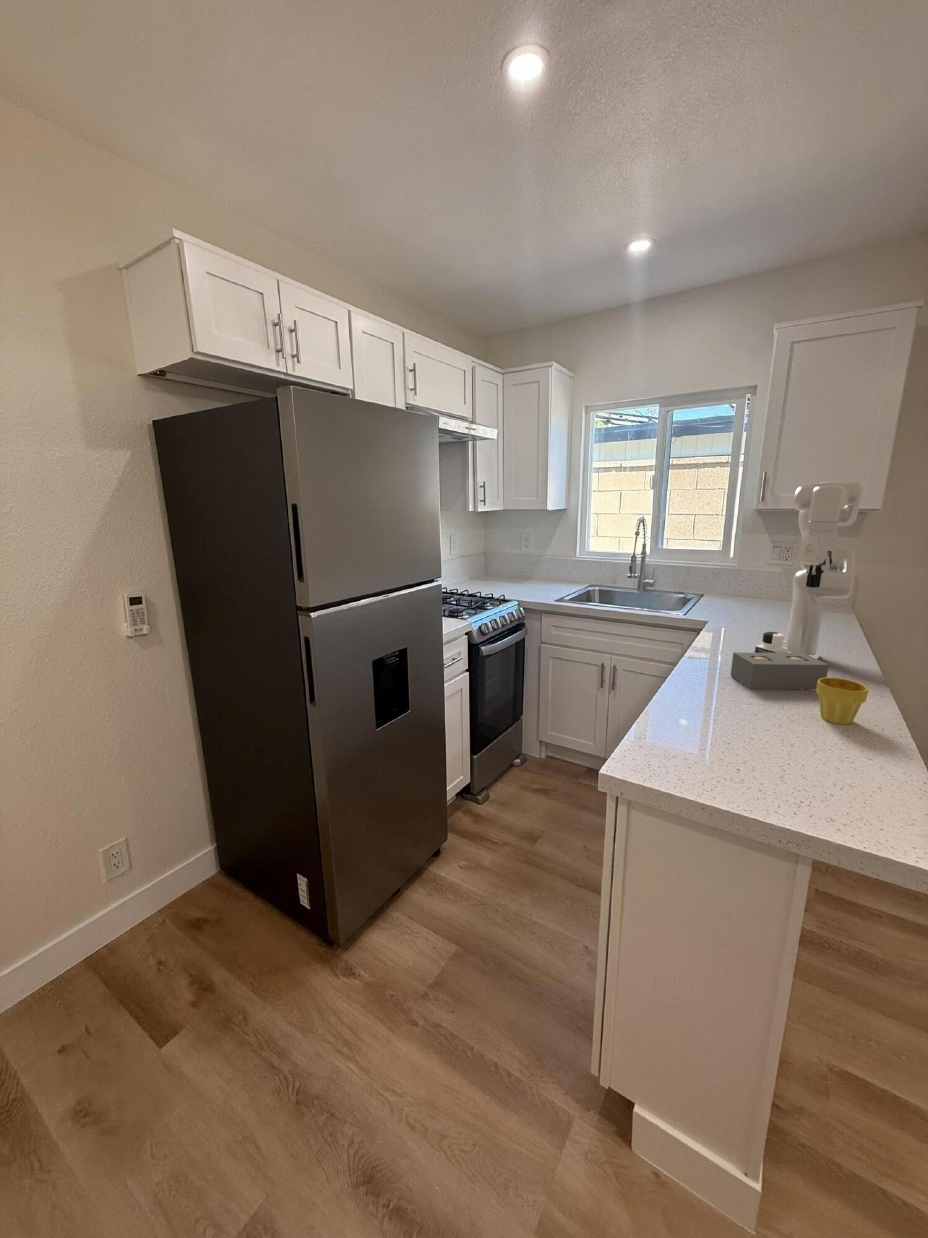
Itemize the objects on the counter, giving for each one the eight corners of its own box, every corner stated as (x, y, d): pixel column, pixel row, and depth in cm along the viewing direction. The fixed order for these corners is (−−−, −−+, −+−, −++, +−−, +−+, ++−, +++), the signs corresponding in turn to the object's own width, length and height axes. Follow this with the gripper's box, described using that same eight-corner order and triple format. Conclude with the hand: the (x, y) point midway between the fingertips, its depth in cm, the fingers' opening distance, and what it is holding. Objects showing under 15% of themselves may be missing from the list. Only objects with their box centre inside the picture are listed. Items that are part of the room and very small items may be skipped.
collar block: (730, 676, 161) (733, 652, 159) (799, 676, 160) (803, 653, 159) (750, 689, 149) (753, 664, 147) (824, 690, 149) (828, 664, 147)
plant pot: (837, 729, 123) (844, 692, 120) (802, 713, 132) (808, 678, 130) (872, 726, 125) (879, 689, 122) (834, 709, 134) (840, 675, 132)
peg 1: (748, 677, 157) (751, 656, 155) (761, 678, 157) (763, 656, 155) (755, 682, 153) (757, 660, 151) (768, 682, 153) (771, 660, 151)
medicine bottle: (752, 665, 172) (757, 631, 169) (765, 662, 175) (770, 629, 172) (772, 671, 166) (777, 636, 163) (786, 668, 169) (791, 634, 166)
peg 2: (783, 678, 156) (786, 657, 155) (796, 678, 156) (799, 657, 155) (791, 682, 153) (794, 661, 151) (804, 682, 152) (808, 661, 151)
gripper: (794, 526, 159) (786, 583, 163) (826, 528, 144) (816, 591, 149) (818, 526, 159) (809, 583, 163) (852, 528, 144) (841, 591, 148)
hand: (812, 586), depth 156 cm, fingers closed
